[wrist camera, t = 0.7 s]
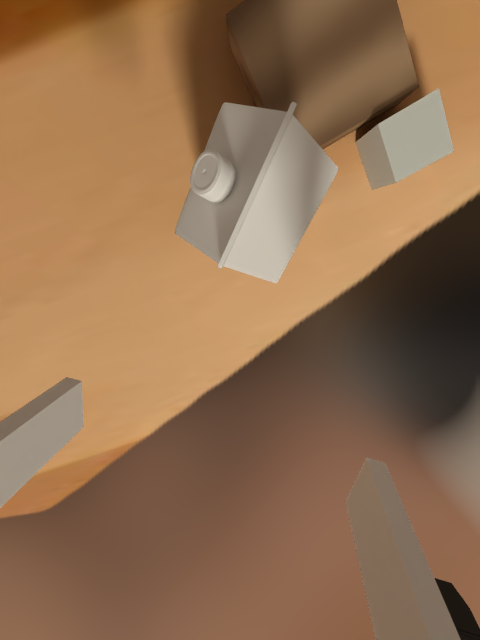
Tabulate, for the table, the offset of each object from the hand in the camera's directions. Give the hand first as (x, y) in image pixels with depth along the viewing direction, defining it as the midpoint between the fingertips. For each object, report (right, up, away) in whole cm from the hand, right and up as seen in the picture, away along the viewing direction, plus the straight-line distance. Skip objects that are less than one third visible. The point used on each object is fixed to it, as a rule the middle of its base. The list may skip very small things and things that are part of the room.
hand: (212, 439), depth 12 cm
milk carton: (+2, +17, +17) cm, 25 cm away
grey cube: (+16, +23, +15) cm, 32 cm away
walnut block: (+8, +29, +13) cm, 33 cm away
